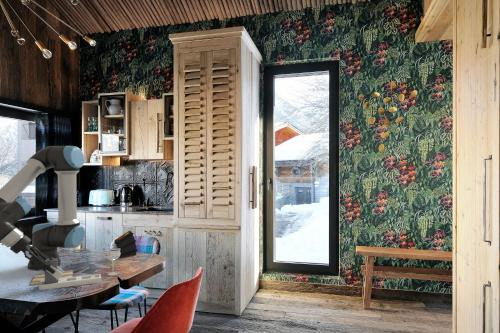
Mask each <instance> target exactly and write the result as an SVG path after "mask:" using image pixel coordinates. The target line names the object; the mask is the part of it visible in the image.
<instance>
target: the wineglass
mask: <svg viewBox="0 0 500 333" xmlns="http://www.w3.org/2000/svg"><path fill="white" fill-rule="evenodd" d="M105 250H106V253H105V256H106V258H107V259H108V260H110V261H111V262H112V264H111V265H112V266H111V267H112V271H111V272H109V273H107V275H108V276H116V275H118V274H119V272H116V271H114V270H115V269H114V266H115V261H116V260H117V259H120V258H119V257H120V254H121V252H120V249H119V248H117V247H115V248H114V247H113V248H107V249H105Z"/></svg>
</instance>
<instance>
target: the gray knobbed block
mask: <svg viewBox="0 0 500 333" xmlns="http://www.w3.org/2000/svg"><path fill="white" fill-rule="evenodd" d="M46 262H47V263H48V264H50V266H51V265H52V266H53V267H54V268H56V269H57V262H58V258H54V259H53V258H50V259H46ZM44 273H45V284H51V283H57V279H56V278H55V277H54V276H52V275H51V274H50V273H49V272H47V271H45V272H44Z"/></svg>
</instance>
